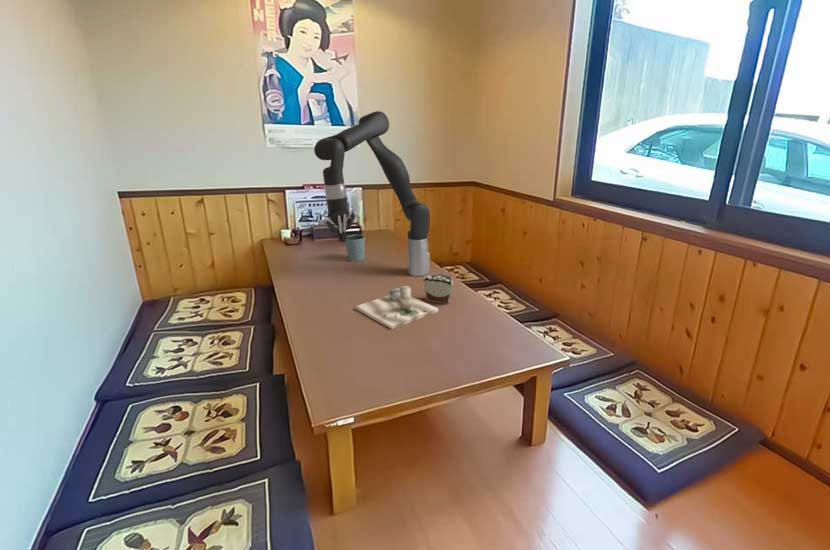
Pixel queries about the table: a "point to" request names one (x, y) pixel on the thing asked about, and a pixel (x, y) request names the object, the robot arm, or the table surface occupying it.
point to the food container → (438, 287)
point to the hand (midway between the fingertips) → (342, 241)
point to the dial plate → (395, 311)
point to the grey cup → (355, 247)
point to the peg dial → (402, 297)
